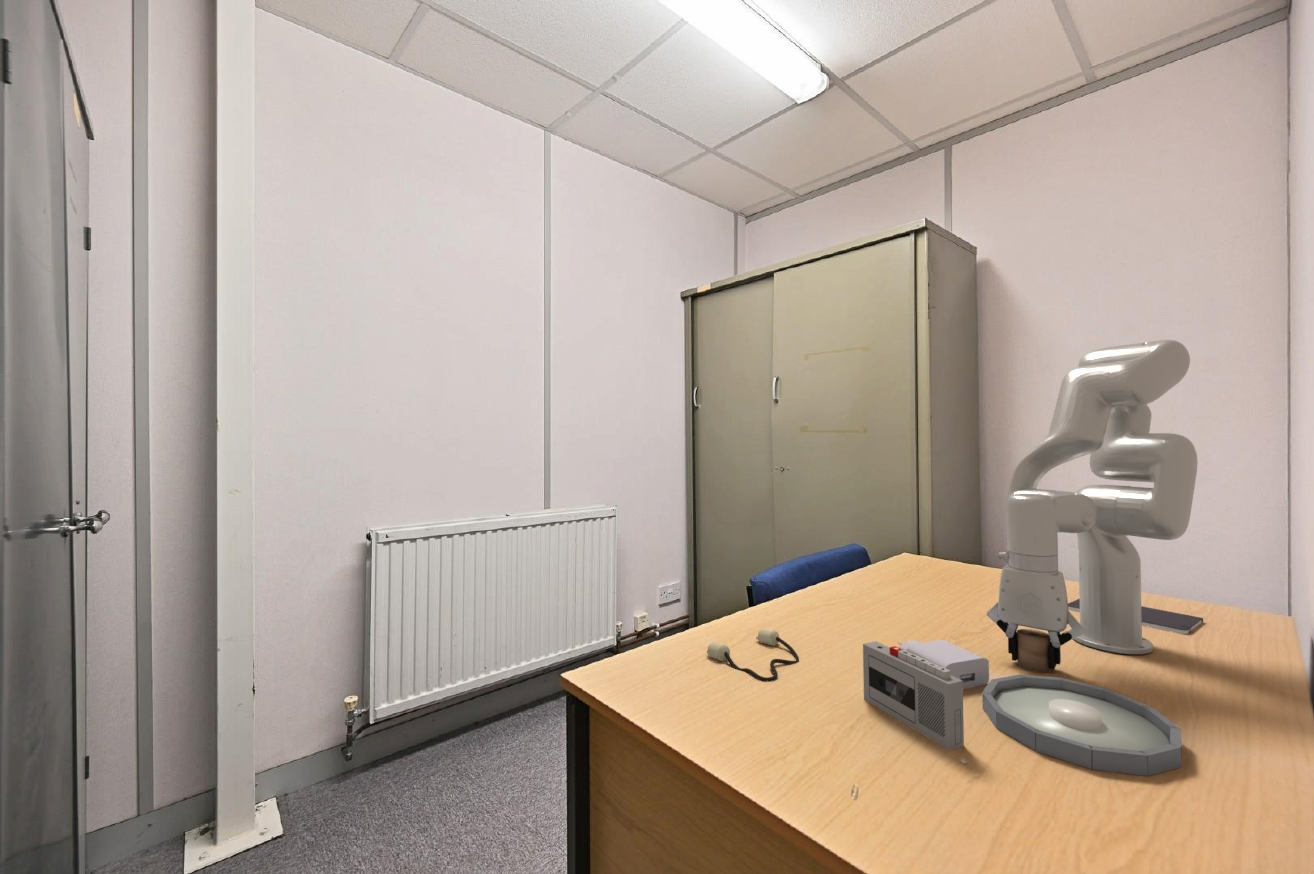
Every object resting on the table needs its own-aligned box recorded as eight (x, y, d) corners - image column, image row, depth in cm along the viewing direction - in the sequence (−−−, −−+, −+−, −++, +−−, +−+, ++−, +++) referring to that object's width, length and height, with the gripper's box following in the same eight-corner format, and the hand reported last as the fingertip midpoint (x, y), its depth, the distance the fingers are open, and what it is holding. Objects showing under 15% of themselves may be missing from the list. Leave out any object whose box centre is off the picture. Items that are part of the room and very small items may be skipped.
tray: (1003, 678, 93) (1003, 663, 93) (1180, 723, 78) (1180, 706, 78) (968, 729, 77) (967, 711, 77) (1181, 798, 62) (1181, 776, 62)
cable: (824, 664, 101) (824, 646, 101) (761, 688, 92) (761, 668, 92) (764, 639, 114) (764, 623, 114) (704, 658, 105) (704, 640, 105)
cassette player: (863, 699, 87) (862, 637, 87) (876, 696, 88) (875, 635, 88) (949, 751, 72) (948, 676, 72) (963, 746, 73) (962, 673, 73)
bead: (1020, 658, 101) (1020, 626, 101) (1053, 666, 98) (1052, 633, 98) (1014, 667, 97) (1014, 633, 97) (1048, 675, 94) (1048, 640, 94)
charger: (922, 651, 106) (989, 684, 91) (883, 658, 103) (945, 693, 89) (922, 627, 106) (988, 657, 91) (882, 633, 103) (945, 664, 89)
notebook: (1203, 624, 118) (1085, 601, 136) (1203, 617, 118) (1085, 595, 136) (1187, 637, 111) (1065, 611, 129) (1187, 630, 111) (1064, 604, 129)
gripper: (973, 559, 101) (975, 656, 101) (1089, 573, 89) (1091, 684, 89) (984, 552, 106) (985, 644, 106) (1094, 565, 94) (1096, 669, 94)
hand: (1034, 661), depth 97 cm, fingers closed on bead, 4 cm apart
